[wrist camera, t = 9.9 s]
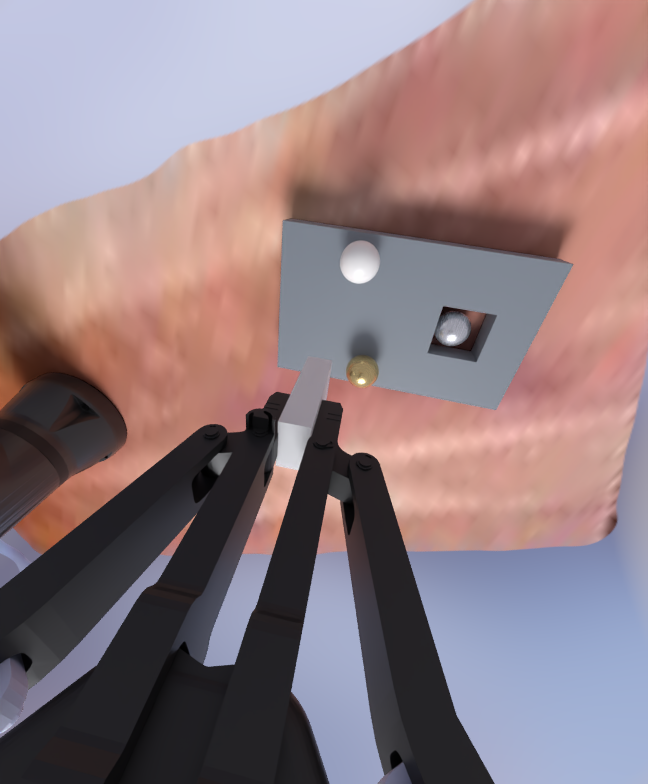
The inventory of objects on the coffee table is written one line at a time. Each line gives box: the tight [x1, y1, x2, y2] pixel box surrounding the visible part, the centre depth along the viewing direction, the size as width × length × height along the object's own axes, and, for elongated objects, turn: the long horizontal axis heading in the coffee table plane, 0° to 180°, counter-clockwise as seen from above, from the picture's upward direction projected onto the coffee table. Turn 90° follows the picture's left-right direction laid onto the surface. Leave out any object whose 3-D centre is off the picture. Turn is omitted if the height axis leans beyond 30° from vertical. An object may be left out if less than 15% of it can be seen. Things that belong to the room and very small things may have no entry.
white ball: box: [340, 240, 380, 284], centre depth 25 cm, size 3×3×3 cm
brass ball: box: [346, 355, 379, 388], centre depth 30 cm, size 3×3×3 cm
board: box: [278, 219, 573, 410], centre depth 30 cm, size 23×14×2 cm, turn 83°
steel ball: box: [434, 311, 471, 346], centre depth 29 cm, size 3×3×3 cm
